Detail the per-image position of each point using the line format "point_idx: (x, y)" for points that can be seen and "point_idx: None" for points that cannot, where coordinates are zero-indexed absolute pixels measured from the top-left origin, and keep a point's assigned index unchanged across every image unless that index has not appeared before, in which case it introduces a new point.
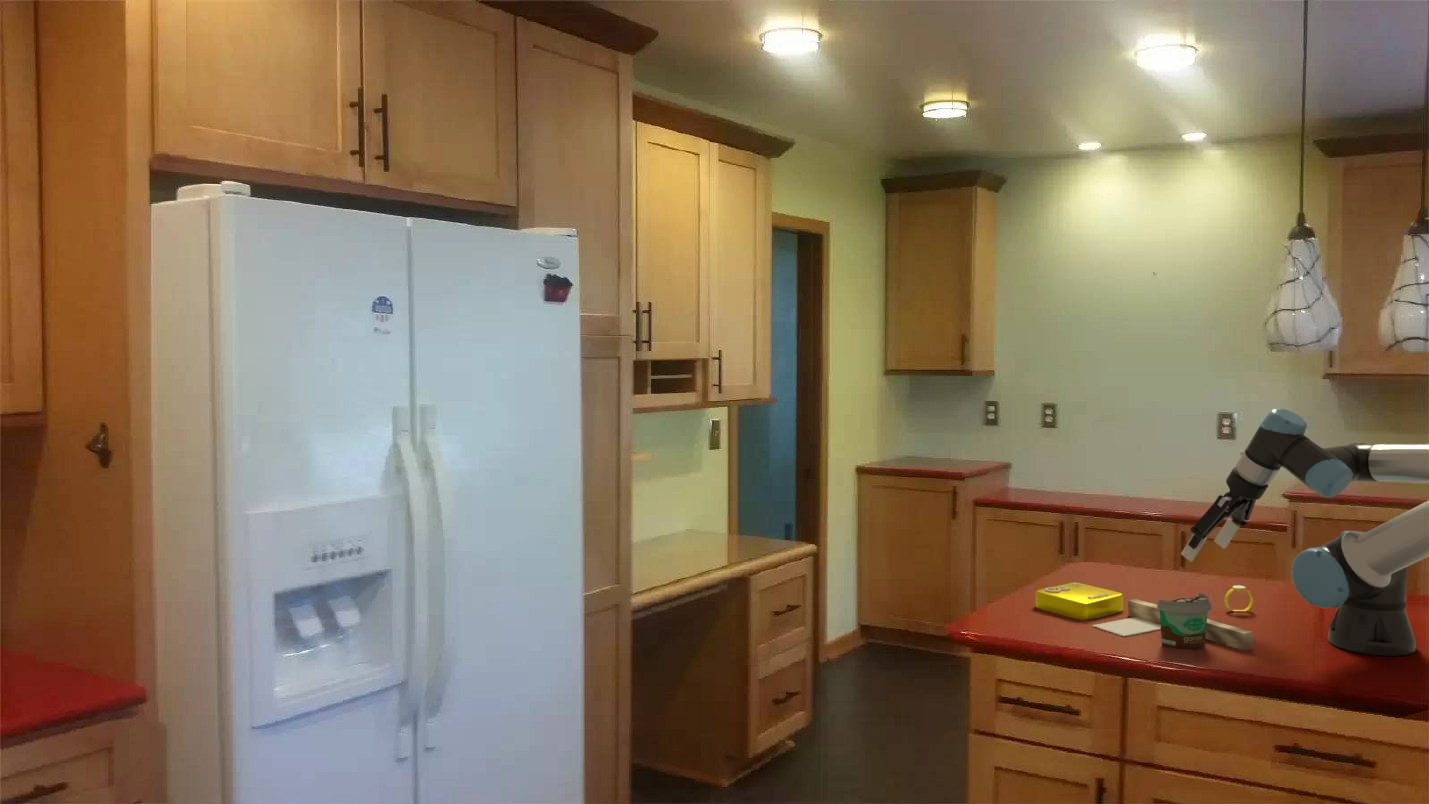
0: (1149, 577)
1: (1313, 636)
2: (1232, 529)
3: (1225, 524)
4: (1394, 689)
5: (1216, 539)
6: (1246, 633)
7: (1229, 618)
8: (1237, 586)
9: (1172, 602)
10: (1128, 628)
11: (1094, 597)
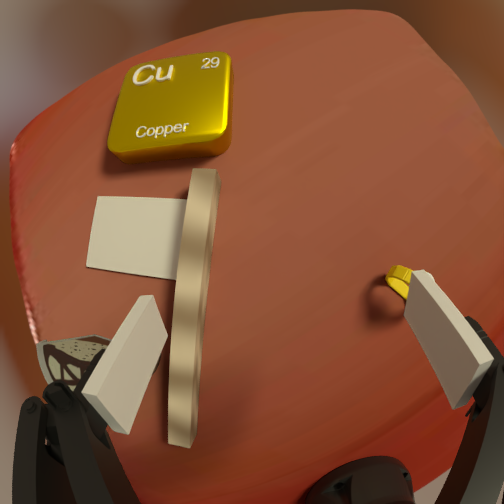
0: (427, 80)
1: (346, 446)
2: (447, 374)
3: (460, 342)
4: None
5: (417, 284)
6: (174, 444)
7: (346, 307)
8: None
9: (43, 371)
10: (120, 243)
11: (146, 133)
